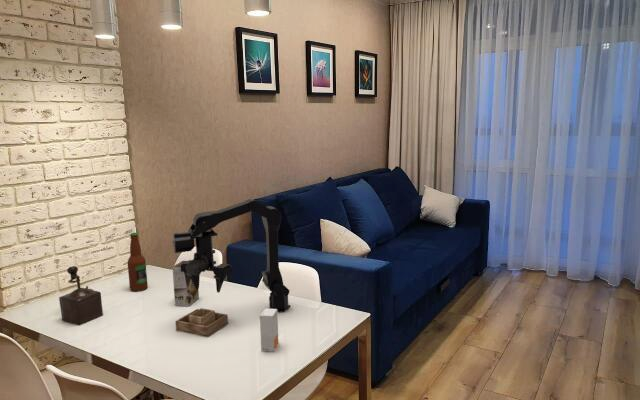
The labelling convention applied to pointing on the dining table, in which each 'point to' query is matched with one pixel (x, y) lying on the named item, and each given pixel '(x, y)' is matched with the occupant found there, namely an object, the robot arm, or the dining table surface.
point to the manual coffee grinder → (80, 302)
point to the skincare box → (269, 330)
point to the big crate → (202, 330)
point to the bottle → (136, 266)
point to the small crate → (202, 317)
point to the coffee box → (183, 287)
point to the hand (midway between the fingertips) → (207, 290)
